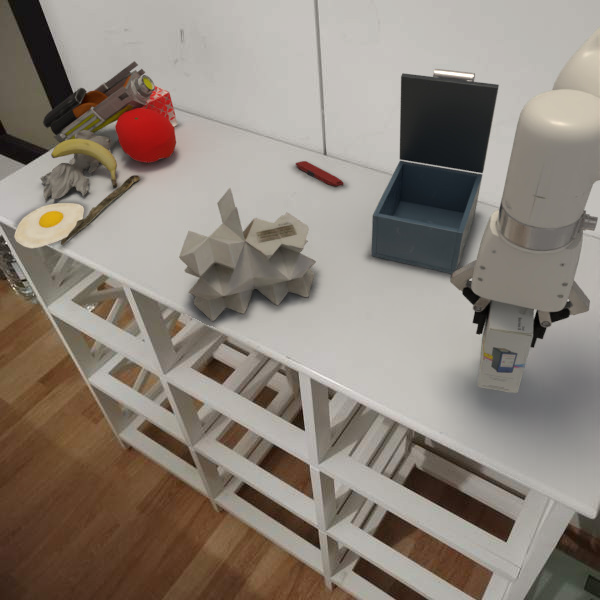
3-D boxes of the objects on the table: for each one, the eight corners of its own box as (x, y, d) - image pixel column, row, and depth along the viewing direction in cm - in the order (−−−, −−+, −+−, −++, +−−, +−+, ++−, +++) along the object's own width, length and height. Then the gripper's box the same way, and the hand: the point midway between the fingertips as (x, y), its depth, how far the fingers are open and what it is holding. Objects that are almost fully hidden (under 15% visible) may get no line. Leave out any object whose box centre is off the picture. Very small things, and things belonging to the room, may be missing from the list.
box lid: (497, 87, 81) (505, 65, 83) (400, 76, 85) (410, 55, 88) (482, 173, 94) (489, 152, 97) (399, 159, 99) (407, 139, 101)
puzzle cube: (118, 96, 124) (140, 107, 120) (147, 81, 128) (169, 92, 124) (129, 129, 130) (150, 140, 126) (156, 114, 134) (177, 124, 130)
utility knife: (301, 162, 116) (294, 167, 115) (300, 158, 115) (293, 162, 114) (344, 185, 110) (337, 190, 109) (344, 181, 109) (337, 186, 108)
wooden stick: (58, 245, 104) (54, 237, 102) (136, 176, 117) (133, 168, 116) (65, 248, 103) (61, 239, 102) (142, 178, 116) (139, 170, 115)
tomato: (96, 129, 113) (117, 168, 121) (149, 137, 109) (167, 177, 117) (125, 95, 119) (144, 134, 127) (177, 101, 114) (192, 142, 123)
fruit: (115, 189, 115) (117, 180, 113) (48, 161, 111) (49, 151, 109) (127, 164, 119) (130, 154, 117) (63, 136, 115) (64, 126, 113)
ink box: (517, 394, 72) (537, 336, 63) (474, 387, 73) (489, 329, 64) (519, 341, 77) (538, 281, 68) (479, 335, 78) (493, 275, 70)
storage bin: (455, 274, 92) (462, 233, 85) (371, 256, 96) (372, 215, 90) (474, 215, 101) (482, 174, 95) (397, 200, 106) (399, 160, 99)
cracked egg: (76, 242, 104) (74, 236, 103) (8, 251, 104) (5, 245, 103) (87, 199, 113) (84, 194, 112) (24, 207, 113) (21, 202, 112)
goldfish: (78, 198, 109) (36, 165, 106) (62, 224, 116) (21, 194, 113) (131, 147, 123) (94, 116, 120) (113, 173, 129) (78, 145, 127)
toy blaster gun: (116, 70, 108) (129, 42, 115) (36, 131, 121) (52, 103, 127) (152, 106, 114) (163, 78, 120) (73, 161, 127) (86, 133, 133)
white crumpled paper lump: (205, 224, 75) (193, 163, 85) (164, 320, 86) (157, 256, 96) (348, 257, 86) (322, 199, 96) (295, 339, 96) (277, 279, 106)
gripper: (634, 210, 56) (584, 326, 70) (458, 182, 62) (443, 295, 75) (631, 261, 52) (578, 375, 65) (442, 226, 57) (429, 337, 71)
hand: (506, 331), depth 70 cm, fingers closed on ink box, 5 cm apart
